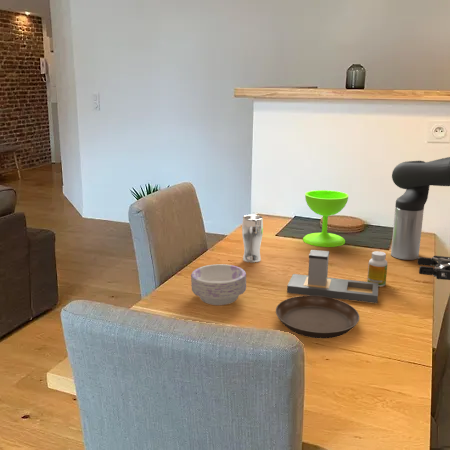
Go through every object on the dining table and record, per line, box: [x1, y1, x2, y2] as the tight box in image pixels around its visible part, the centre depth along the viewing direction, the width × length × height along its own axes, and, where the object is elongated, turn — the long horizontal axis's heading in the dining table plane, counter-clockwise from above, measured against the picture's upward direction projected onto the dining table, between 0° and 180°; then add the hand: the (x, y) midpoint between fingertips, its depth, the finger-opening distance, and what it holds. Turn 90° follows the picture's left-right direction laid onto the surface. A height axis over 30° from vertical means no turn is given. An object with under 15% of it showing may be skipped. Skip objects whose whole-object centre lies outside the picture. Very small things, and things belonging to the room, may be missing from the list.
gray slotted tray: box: [286, 249, 379, 304], centre depth 151 cm, size 10×25×11 cm, turn 73°
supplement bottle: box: [366, 250, 388, 288], centre depth 157 cm, size 5×5×10 cm
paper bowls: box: [190, 263, 247, 306], centre depth 145 cm, size 15×15×8 cm
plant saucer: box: [275, 295, 360, 339], centre depth 132 cm, size 21×21×3 cm
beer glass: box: [241, 214, 264, 264], centre depth 176 cm, size 7×7×15 cm
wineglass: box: [302, 189, 349, 248], centre depth 198 cm, size 16×16×18 cm
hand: (418, 265), depth 153 cm, fingers open, 8 cm apart
